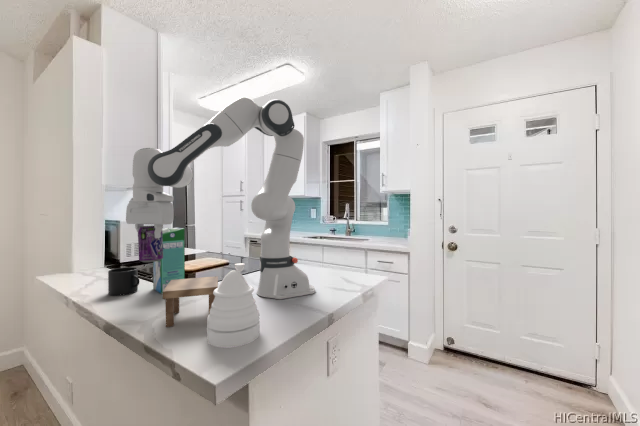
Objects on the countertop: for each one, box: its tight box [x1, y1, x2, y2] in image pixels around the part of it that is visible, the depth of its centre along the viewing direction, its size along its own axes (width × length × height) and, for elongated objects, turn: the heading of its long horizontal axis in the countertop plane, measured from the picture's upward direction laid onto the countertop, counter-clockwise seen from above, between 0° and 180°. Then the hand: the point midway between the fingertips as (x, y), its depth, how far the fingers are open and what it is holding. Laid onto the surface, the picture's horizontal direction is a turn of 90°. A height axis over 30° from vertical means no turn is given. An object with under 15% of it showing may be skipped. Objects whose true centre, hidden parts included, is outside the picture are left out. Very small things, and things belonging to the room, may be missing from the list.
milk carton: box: [152, 227, 186, 294], centre depth 115 cm, size 9×9×25 cm
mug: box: [107, 266, 140, 297], centre depth 110 cm, size 9×12×9 cm
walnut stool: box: [162, 276, 219, 328], centre depth 85 cm, size 14×14×10 cm
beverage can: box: [137, 225, 163, 263], centre depth 95 cm, size 7×7×12 cm
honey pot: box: [206, 262, 261, 349], centre depth 72 cm, size 13×13×18 cm
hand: (149, 237), depth 95 cm, fingers closed on beverage can, 7 cm apart
